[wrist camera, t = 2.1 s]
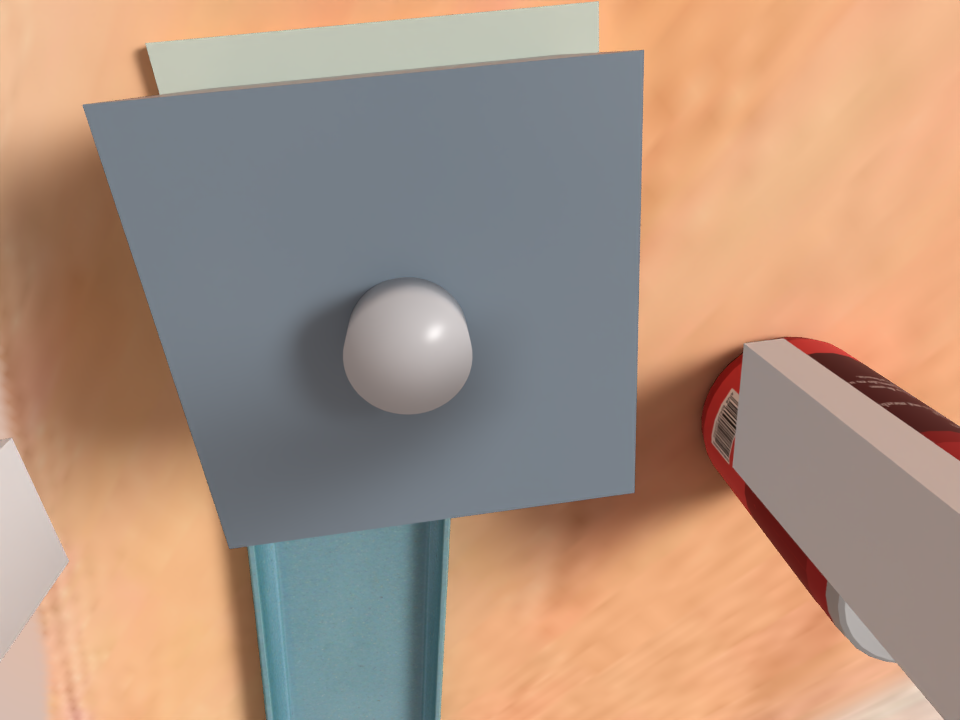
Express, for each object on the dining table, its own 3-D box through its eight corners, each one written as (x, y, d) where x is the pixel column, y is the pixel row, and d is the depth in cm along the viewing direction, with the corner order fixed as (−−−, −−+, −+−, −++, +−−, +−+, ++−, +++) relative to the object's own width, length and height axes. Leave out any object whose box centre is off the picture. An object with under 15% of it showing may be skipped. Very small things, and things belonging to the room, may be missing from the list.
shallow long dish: (247, 453, 29) (234, 486, 26) (450, 452, 30) (454, 484, 28) (286, 809, 40) (278, 854, 37) (433, 799, 41) (435, 842, 38)
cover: (205, 88, 21) (45, 109, 12) (556, 54, 22) (669, 48, 13) (283, 400, 27) (215, 587, 17) (566, 364, 27) (651, 525, 18)
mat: (152, 43, 21) (145, 43, 21) (594, 2, 22) (598, 1, 22) (258, 428, 28) (255, 435, 27) (597, 384, 29) (600, 391, 28)
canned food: (728, 502, 32) (870, 697, 22) (669, 384, 29) (806, 552, 19) (870, 430, 31) (1086, 601, 21) (826, 300, 28) (1057, 430, 18)
